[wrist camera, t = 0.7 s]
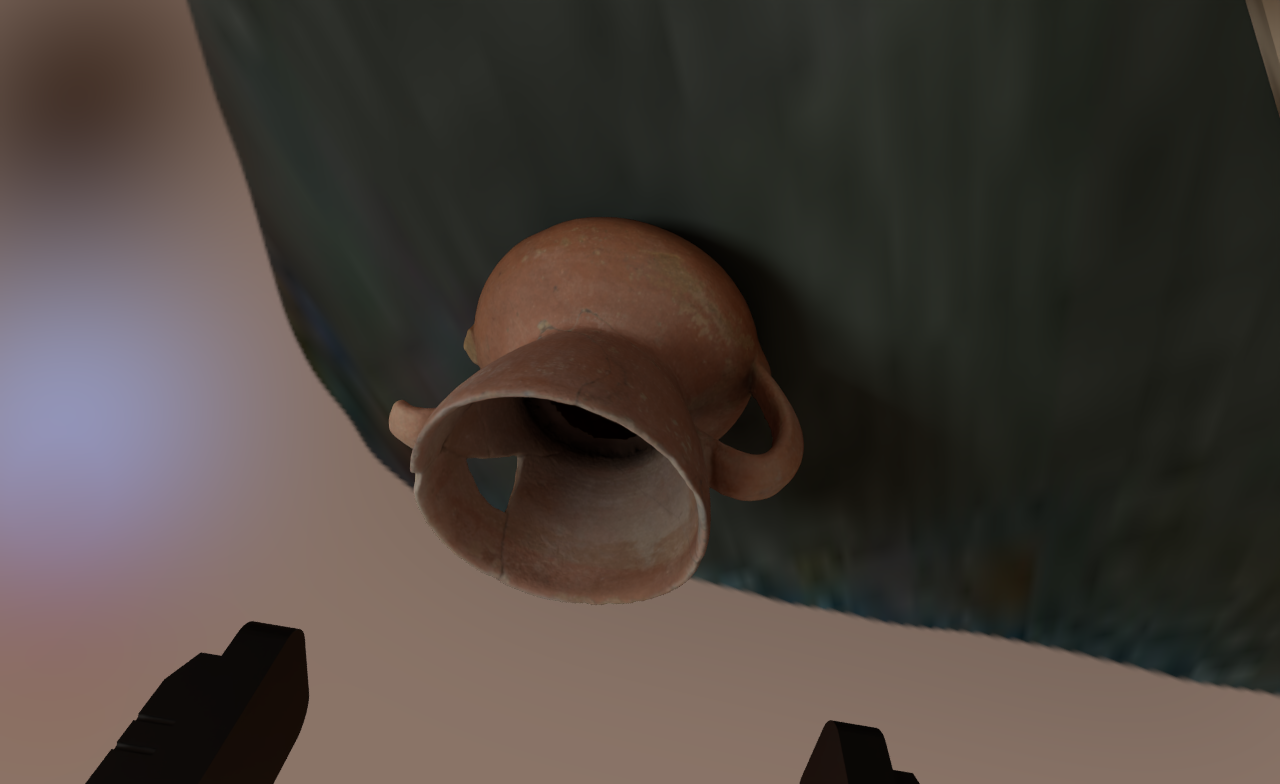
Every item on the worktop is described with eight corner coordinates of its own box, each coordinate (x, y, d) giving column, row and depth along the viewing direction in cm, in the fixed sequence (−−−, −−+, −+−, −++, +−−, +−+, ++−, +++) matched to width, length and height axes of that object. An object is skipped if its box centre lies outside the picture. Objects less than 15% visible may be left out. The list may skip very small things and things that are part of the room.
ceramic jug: (485, 397, 46) (381, 587, 35) (463, 171, 36) (313, 332, 26) (778, 447, 44) (766, 664, 33) (835, 222, 35) (842, 419, 24)
